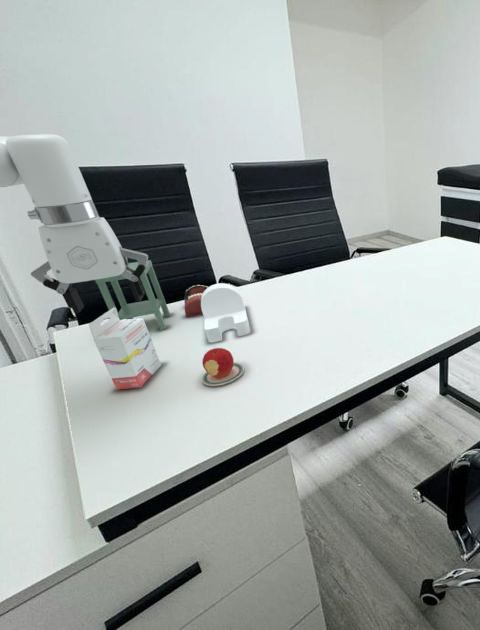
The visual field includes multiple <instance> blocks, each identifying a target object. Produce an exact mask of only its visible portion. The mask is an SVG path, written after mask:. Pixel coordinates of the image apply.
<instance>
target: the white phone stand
mask: <svg viewBox="0 0 480 630" xmlns="http://www.w3.org/2000/svg"><path fill="white" fill-rule="evenodd" d="M207 287H208V288H207V289H206V290H205V291H204V292H203V294H202V297H201V309H202V316H203V320H204V322H203V325H204V326H203V327H204V328H203V329H204V332H205V334H206V337H207V338H206V339H207V341H208V343H211V344H213V343H217V342H221V341H223V333H224V332H226V331H229V330H236V335H237V337H242V336H247V335H248V334H251V332H252V331H251V326H250V322H249V318H248V314H247V309H246V306H245V302H244V298H243V296H242V294H241V292H240V291H239V290H238V289H237V287H235V286H234V285H231V284H229V283H225V282H224V283H223V282H222V283H221V282H220V283H219V282H218V283H215V284H212V285H210V286H207Z"/></svg>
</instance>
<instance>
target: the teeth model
mask: <svg viewBox="0 0 480 630" xmlns="http://www.w3.org/2000/svg"><path fill="white" fill-rule="evenodd" d="M208 287H209V286H207V285H204V284H203V285H201V284H197V285H192V286H191V287H188V289H186V290H185V293H184V299H183V300H184V315H185V317H186V318H187V317H194V316H198V315H203V313H202V309H201V297H202V294H203V292H204V291H205V290H206V289H207V288H208Z"/></svg>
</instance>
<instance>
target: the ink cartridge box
mask: <svg viewBox="0 0 480 630" xmlns="http://www.w3.org/2000/svg"><path fill="white" fill-rule="evenodd" d="M115 307H116V306H115ZM115 307H114V308H112V309H111V310H109V309H108V311H106V312H104V313H102V315H100V316H98V317H97V318H96V319H94V320H93V321H91V322H89V325H88V327H89V330H90V332H91V335H92V338H93V342H94V344H95V346H96V349H97V351H98V353H99V355H100V357H101V359H102V361H103V364H104V365H105V367H106V370H107V372H108V374H109V376H110V378H111V381H112V383H113V385H114V386H115V389H116V390H128V389H129V390H130V389H141V388H142V387H143V386H144V385H145V384H146V383H147V381H149V379H150V378H151V377H152V376H153V375H154V374H155V373H156V372H157V371H158V370H159V369H160V368H161V366H162V363H161V361H160V358H159V356H158V353H157V350H156V348H155V346H154V345H155V344H154V342H153V340H152V338H151V334H150V332H149V330H148V327H147V324H146V322H145V319H144V318H143V317H139V318H138V317H136V318H133V319H123V320H120V319H119V316H118V313H119V312H118V313H117V311H118V309H117V307H116V308H115ZM116 309H117V310H116ZM107 319H109V320H108V321H106V322H105V323H103V322H104V320H107ZM102 323H103V324H102Z"/></svg>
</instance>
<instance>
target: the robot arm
mask: <svg viewBox="0 0 480 630" xmlns="http://www.w3.org/2000/svg"><path fill="white" fill-rule="evenodd" d="M18 185H24V186H25V188H26V191H27V193H28V194H29V195H28V196H29V197H30V198H31V201H32V203H33V205H34V207H33V209H32V210H27V212H26V213H27V216H28V218H29V219H30V220H38V221H40V223H41V224H43V225H40V226H38V234H39V236H40V241H41V244H42V247H43V251H44V253H45V257H46V259H47V261H46V262H45V263H43V264H41V265H40V266H38V267H37V268H36V269H34V270H32V271H31V272H30V275H31V277H32V278H34V279H35V280H36V281H38V282H40V283H41V284H42V285H43V286H44V287H46V288H48V289H51V290H53V291H55V292H56V293H57V294H59V295H61V296H62V297H63V299H64V301H65V303H66V305H67V307H68V308H69V309H71V310H72V312H73V313H74V314H79V313H80V312H82V310H83V309H84V308H85V304H84V303H83V301H82V299H81V296H80V294H79V292H78V290H77V288H75V287H72V285H73V284H76V283H82V282H90V281H95V280H96V279H102V278H108V277H113V276H118V275H122V276H123V277H125V278H127V280H129V282H128V286H129V289H130V291H131V293H132V296H133V298H134V300H135V301H134V302H142V300H143V298H144V296H145V295H146V291H145V289H144V286H143V284H142V281H141V278H140V276H141V275H142V273H143V272H144V270H145V269H146V265H147V261H148V259H149V255H148V254H147V253H144V252H141V251H137V250H133V249H127V248H124V247H122V245H121V242H120V241H119V239H118V237H117V236H116V234H115V232H114V230H113V229H112V227H111V226H110V224H109V222H108V221H107V220H106V219H105V217H104V216H103V217H100V215H99V212H98V210H97V208H96V205H95V203H94V200H93V199H92V196H91V193H90V191H89V189H88V187H87V184H86V181H85V179H84V177H83V174H82V172H81V170H80V168H79V165H78V161H77V160H76V158H75V155H74V153H73V150H72V148H71V146H70V144H69V142H68V141H67V140H66V139H65V138H64V137H63V136H61V135H58V134H56V133H55V134H54V133H38V134H35V133H34V134H21V135H19V134H18V135H12V136H5V135H0V188H6V187H7V188H8V187H12V186H18ZM128 259H132V260H135V261H136V262H138V267H137V268H136V270H134V269H132V268H131V267H129V266H128V263H129V261H128ZM50 270H51V271H52V273H53V275H54V277H50V275H49V274H48V272H49V271H50Z"/></svg>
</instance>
